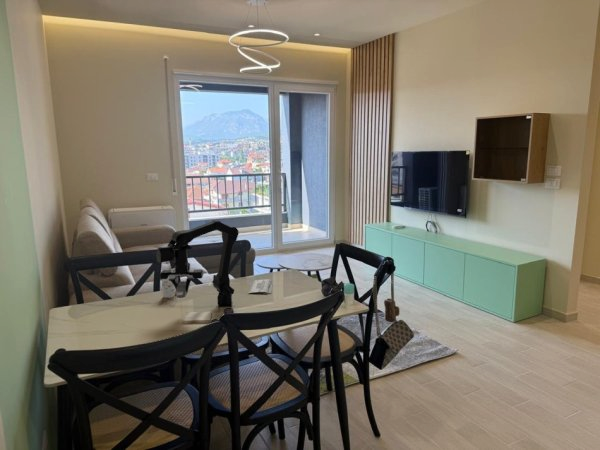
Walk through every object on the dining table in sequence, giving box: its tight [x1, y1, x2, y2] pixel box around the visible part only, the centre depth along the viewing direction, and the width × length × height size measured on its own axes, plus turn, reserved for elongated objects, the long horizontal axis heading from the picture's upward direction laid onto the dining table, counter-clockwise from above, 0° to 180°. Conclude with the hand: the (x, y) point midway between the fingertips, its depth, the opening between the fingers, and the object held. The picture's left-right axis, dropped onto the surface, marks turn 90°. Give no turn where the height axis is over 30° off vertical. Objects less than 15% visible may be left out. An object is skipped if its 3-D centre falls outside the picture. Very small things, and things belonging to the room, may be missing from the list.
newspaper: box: [248, 278, 273, 295], centre depth 234 cm, size 23×12×2 cm, turn 179°
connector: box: [176, 280, 189, 299], centre depth 191 cm, size 4×12×5 cm, turn 4°
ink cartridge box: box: [161, 268, 177, 299], centre depth 219 cm, size 9×5×15 cm, turn 168°
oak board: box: [181, 311, 213, 324], centre depth 189 cm, size 12×10×1 cm
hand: (182, 292), depth 192 cm, fingers closed on connector, 4 cm apart
